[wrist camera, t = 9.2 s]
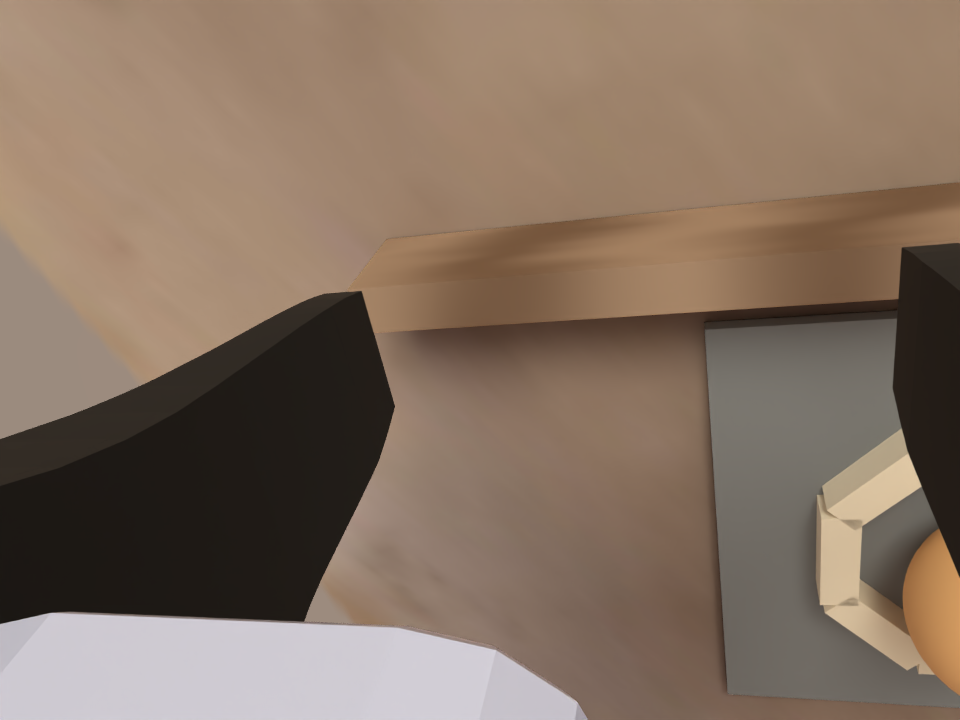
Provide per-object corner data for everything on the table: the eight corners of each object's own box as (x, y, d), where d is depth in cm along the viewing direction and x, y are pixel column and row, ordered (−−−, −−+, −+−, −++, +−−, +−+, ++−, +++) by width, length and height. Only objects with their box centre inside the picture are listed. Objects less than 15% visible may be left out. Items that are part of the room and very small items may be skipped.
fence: (1452, 133, 16) (1592, 188, 13) (1428, 193, 16) (1559, 256, 14) (386, 239, 22) (347, 289, 20) (397, 279, 23) (360, 334, 20)
